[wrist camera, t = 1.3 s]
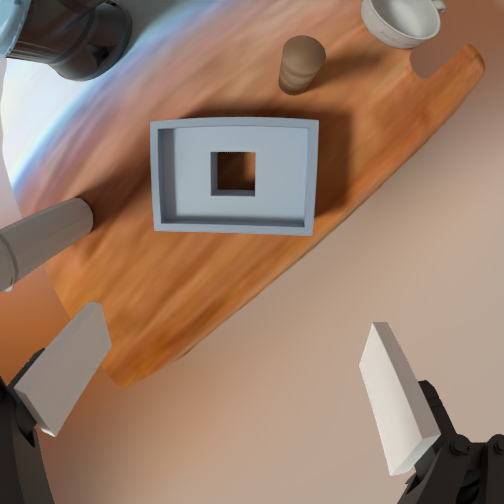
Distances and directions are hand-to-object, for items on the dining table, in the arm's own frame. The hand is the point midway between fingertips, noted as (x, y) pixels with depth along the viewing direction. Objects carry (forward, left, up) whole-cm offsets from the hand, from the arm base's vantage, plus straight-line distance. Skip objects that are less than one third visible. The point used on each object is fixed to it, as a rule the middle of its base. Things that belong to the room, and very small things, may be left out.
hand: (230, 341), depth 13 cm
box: (-5, -3, -31) cm, 31 cm away
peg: (-18, +5, -31) cm, 36 cm away
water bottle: (+2, -31, -31) cm, 44 cm away
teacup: (-31, +21, -31) cm, 48 cm away
